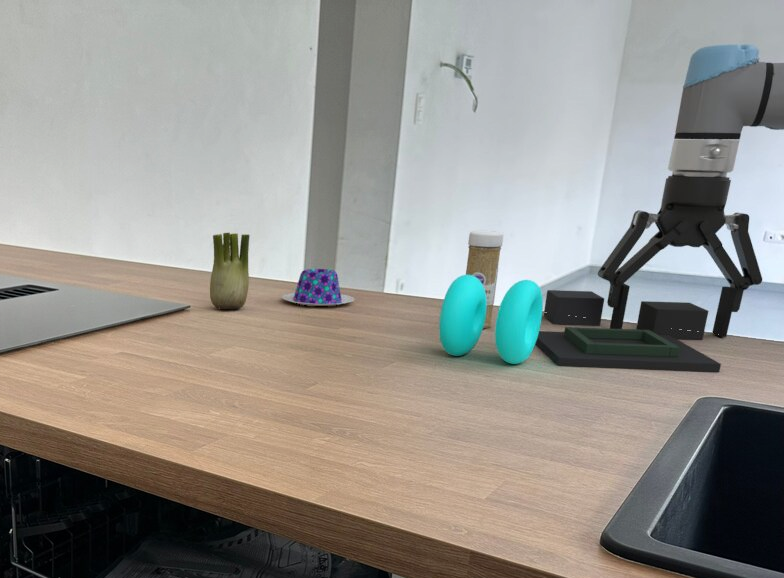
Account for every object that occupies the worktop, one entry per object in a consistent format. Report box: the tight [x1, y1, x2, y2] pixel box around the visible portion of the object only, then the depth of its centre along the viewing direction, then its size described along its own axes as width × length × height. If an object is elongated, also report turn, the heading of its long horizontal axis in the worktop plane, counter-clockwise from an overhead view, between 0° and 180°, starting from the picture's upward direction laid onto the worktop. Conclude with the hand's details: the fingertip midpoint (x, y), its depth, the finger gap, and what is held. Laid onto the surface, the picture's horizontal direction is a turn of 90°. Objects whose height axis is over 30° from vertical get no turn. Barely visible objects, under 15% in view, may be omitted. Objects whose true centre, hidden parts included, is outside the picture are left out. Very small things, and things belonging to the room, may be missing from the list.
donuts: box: [438, 274, 544, 365], centre depth 104 cm, size 10×10×10 cm
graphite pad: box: [543, 289, 605, 327], centre depth 129 cm, size 6×6×4 cm
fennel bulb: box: [209, 232, 250, 310], centre depth 135 cm, size 6×5×12 cm
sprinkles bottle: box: [465, 230, 504, 329], centre depth 123 cm, size 5×5×13 cm
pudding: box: [281, 268, 355, 307], centre depth 143 cm, size 12×12×5 cm
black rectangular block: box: [635, 300, 709, 341], centre depth 120 cm, size 6×6×4 cm
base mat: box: [535, 326, 722, 373], centre depth 109 cm, size 18×16×2 cm
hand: (666, 333), depth 121 cm, fingers open, 13 cm apart
